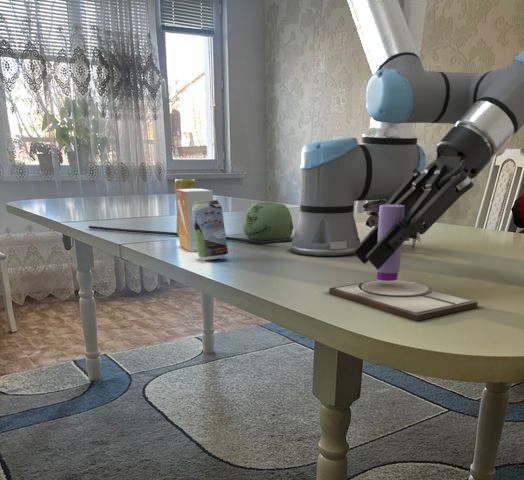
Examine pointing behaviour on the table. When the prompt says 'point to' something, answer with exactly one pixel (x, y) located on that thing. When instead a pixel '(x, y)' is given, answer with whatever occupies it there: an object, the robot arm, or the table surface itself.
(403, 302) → the board
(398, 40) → the robot arm
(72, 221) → the table surface
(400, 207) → the cylinder
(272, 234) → the green rounded lump
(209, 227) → the green printed package
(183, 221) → the small box
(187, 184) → the vase
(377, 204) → the decorative flower
